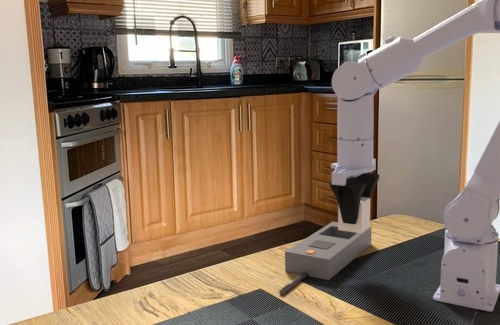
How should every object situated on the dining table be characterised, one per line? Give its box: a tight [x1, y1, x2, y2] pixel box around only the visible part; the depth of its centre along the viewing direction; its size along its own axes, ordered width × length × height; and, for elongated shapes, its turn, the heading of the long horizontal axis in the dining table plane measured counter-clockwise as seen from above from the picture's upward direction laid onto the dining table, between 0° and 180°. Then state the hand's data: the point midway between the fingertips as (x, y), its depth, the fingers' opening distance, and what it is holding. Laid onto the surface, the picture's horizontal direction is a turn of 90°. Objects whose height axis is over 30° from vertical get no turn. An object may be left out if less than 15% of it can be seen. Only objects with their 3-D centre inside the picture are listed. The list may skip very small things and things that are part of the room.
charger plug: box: [337, 197, 371, 233], centre depth 85 cm, size 4×4×5 cm
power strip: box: [278, 221, 372, 295], centre depth 89 cm, size 29×8×4 cm, turn 147°
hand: (354, 219), depth 85 cm, fingers closed on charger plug, 4 cm apart
